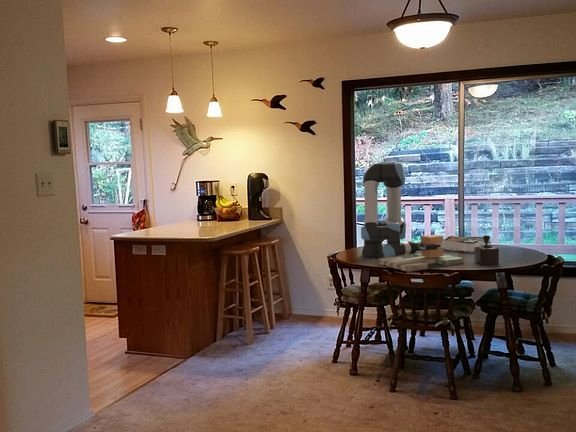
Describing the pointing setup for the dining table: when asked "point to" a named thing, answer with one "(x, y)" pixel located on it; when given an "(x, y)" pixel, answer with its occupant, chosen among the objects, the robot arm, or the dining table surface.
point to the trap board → (420, 262)
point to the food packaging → (463, 243)
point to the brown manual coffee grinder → (486, 253)
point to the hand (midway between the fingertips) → (438, 244)
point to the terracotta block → (428, 241)
